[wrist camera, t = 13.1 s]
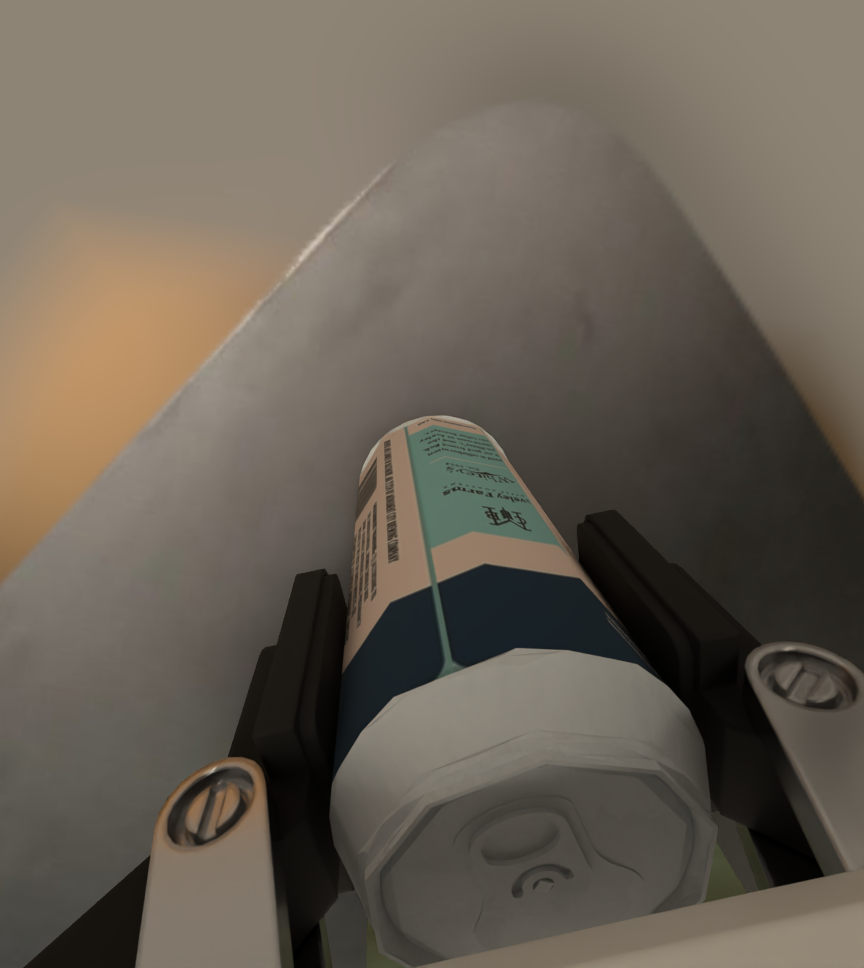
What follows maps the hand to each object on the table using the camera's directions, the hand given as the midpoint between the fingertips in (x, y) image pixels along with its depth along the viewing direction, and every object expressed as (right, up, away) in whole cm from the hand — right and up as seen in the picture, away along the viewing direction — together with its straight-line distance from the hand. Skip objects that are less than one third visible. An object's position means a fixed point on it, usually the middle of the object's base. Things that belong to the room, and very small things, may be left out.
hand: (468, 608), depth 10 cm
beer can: (-1, +3, +6) cm, 7 cm away
